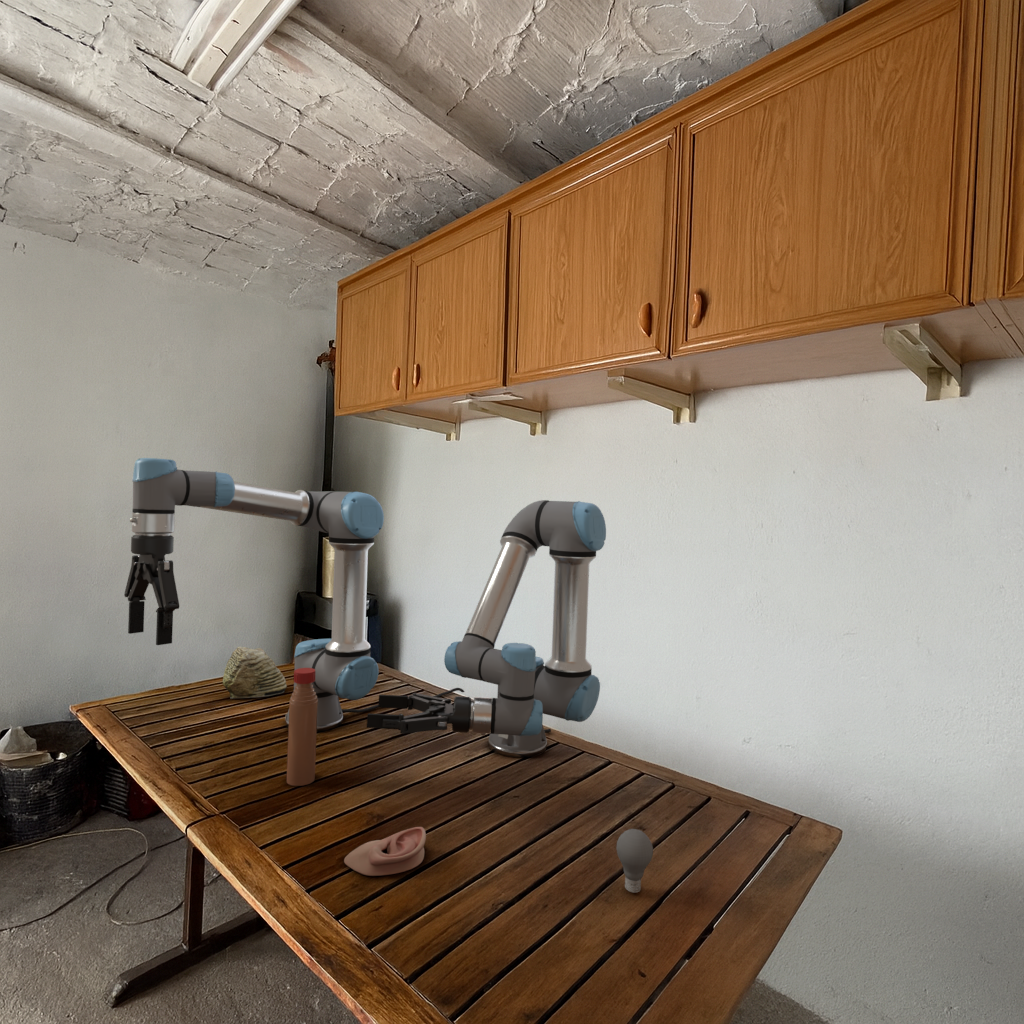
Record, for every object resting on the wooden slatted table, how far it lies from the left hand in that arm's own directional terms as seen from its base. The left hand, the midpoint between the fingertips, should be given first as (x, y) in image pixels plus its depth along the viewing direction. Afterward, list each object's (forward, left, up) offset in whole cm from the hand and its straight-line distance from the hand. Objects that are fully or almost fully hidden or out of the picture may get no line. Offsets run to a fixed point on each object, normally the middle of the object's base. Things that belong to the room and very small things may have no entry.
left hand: (149, 638), depth 129 cm
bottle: (-27, +15, -33) cm, 45 cm away
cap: (-27, +15, -9) cm, 32 cm away
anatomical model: (-19, +53, -33) cm, 65 cm away
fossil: (-50, -47, -33) cm, 76 cm away
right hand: (-34, +30, -15) cm, 48 cm away
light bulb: (-41, +90, -33) cm, 104 cm away
